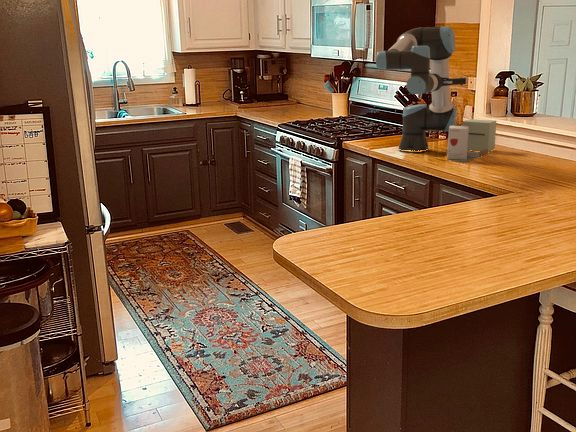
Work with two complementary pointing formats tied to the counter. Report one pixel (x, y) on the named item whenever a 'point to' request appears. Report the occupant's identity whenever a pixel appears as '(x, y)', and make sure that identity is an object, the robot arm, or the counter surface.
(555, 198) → the counter surface
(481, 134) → the dispenser rack
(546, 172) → the counter surface
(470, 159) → the trivet
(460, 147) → the supplement box
